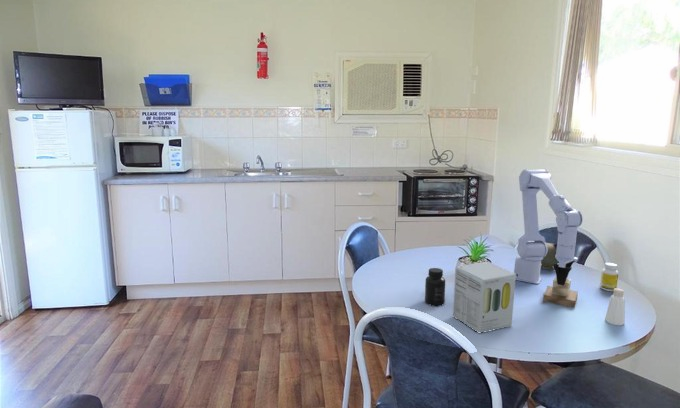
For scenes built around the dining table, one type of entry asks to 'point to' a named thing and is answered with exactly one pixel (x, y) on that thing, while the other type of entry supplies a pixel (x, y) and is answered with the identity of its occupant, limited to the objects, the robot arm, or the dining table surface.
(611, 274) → the supplement bottle
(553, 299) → the walnut block
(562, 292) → the maple block
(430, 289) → the supplement bottle
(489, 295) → the supplement box
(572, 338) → the dining table surface
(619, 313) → the salt shaker
